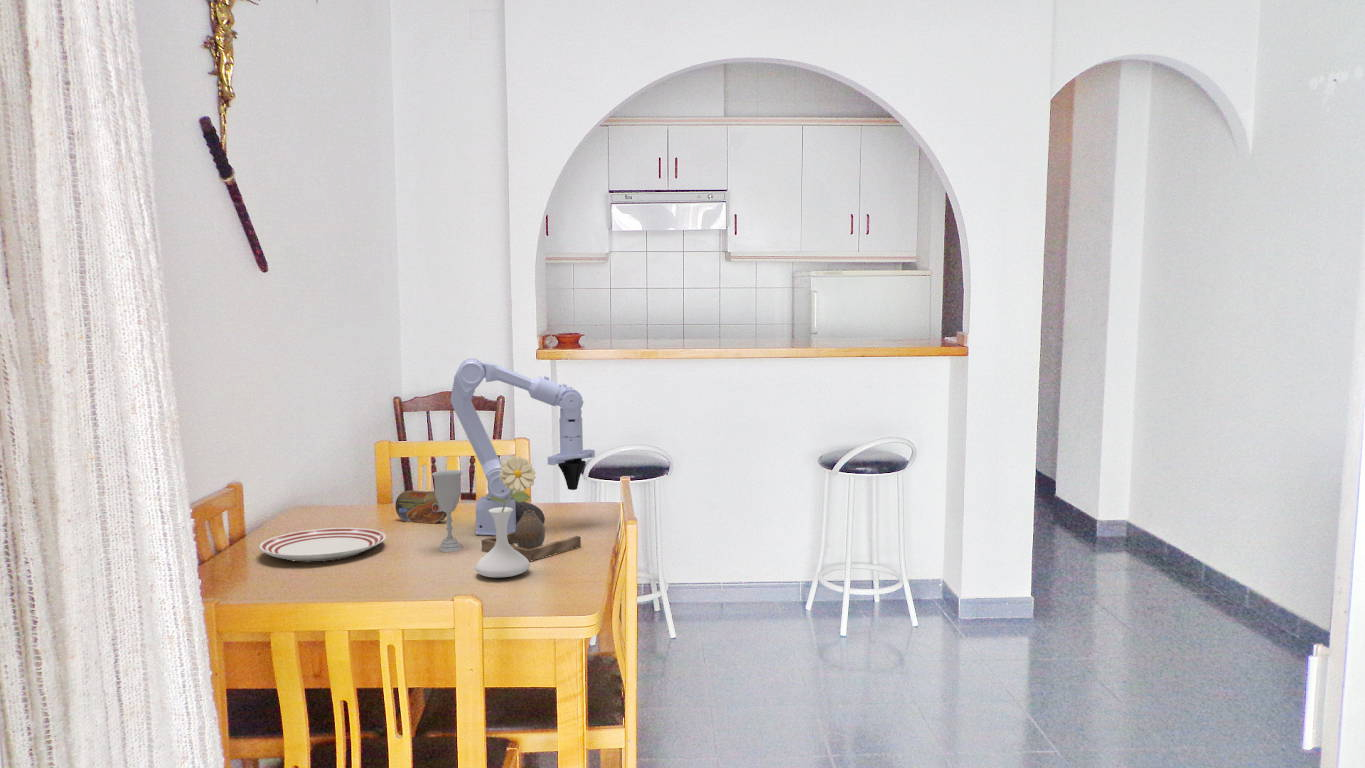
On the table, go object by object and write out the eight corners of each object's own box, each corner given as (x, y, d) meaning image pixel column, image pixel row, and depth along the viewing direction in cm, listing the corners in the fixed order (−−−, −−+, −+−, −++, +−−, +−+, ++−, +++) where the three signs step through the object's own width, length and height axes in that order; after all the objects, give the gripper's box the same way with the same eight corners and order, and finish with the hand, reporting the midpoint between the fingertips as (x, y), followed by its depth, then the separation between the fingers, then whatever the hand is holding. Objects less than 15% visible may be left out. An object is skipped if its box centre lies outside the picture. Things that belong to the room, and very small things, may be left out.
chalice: (456, 553, 209) (453, 476, 208) (429, 552, 211) (426, 475, 209) (470, 545, 216) (467, 470, 215) (443, 544, 218) (440, 469, 216)
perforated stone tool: (550, 528, 233) (550, 501, 232) (537, 532, 228) (536, 505, 228) (505, 522, 240) (504, 495, 240) (492, 526, 236) (491, 499, 235)
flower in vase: (477, 584, 185) (472, 462, 183) (473, 569, 196) (469, 454, 194) (541, 578, 189) (538, 458, 187) (534, 563, 200) (531, 450, 198)
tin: (395, 521, 243) (393, 490, 242) (402, 519, 246) (400, 488, 245) (445, 524, 238) (443, 492, 238) (451, 522, 241) (450, 490, 241)
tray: (529, 562, 201) (528, 551, 201) (481, 550, 212) (481, 540, 211) (580, 547, 213) (580, 536, 213) (533, 536, 224) (533, 526, 224)
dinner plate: (334, 533, 232) (334, 520, 231) (411, 546, 218) (410, 532, 217) (233, 559, 208) (233, 545, 208) (312, 576, 194) (311, 560, 194)
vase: (548, 545, 216) (547, 508, 215) (541, 552, 209) (540, 515, 208) (520, 544, 216) (518, 508, 216) (511, 552, 210) (510, 514, 209)
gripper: (560, 440, 222) (562, 495, 223) (602, 433, 234) (603, 486, 235) (541, 438, 227) (542, 492, 228) (583, 431, 238) (584, 483, 239)
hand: (572, 489), depth 232 cm, fingers closed
